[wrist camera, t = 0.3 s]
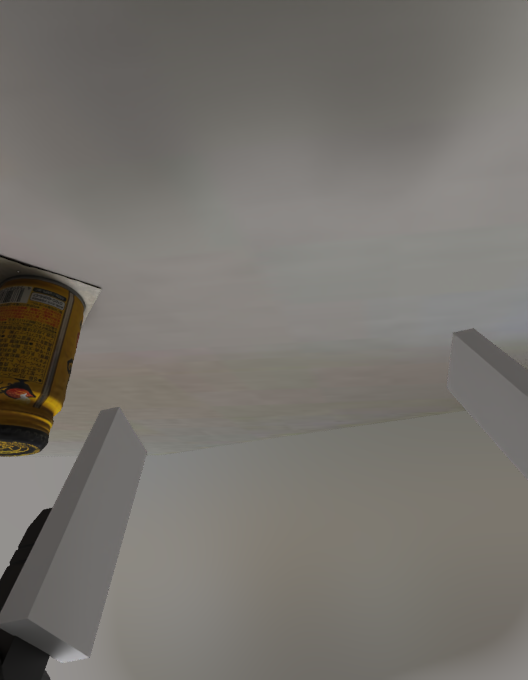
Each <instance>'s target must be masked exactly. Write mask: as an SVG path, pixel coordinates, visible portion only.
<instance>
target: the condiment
mask: <svg viewBox="0 0 528 680" xmlns="http://www.w3.org/2000/svg"><path fill="white" fill-rule="evenodd" d="M17 271H19V272H17ZM100 291H101V289H99V288H95V287H93V286H90V285H87V284H84V283H81V282H79V281H76V280H71V279H68V278H66V277H64V276H60V275H58V274H52V273H50V272H48V271H43V270H39V269H37V268H32V267H27V266H24V265H21V264H19V263H17V262H13V261H9V260H7V259H5V258H1V257H0V456H1V457H2V456H3V457H5V456H9V457H10V456H24V455H31V454H35V453H38V452H40V451H41V450H42V449H43V448H44V447H45V446H46V445H47V443H48V438H49V432H50V429H51V427H52V425H53V422H54V421H53V417H54V416H55V415H56V414H57V413H58V412H60V411H61V408H62V407H63V402H64V400H65V394H66V389H67V384H68V381H69V377H70V374H71V367H72V364H73V360H74V356H75V353H76V348H77V343H78V339H79V335H80V330H81V328H82V326H83V324H84V321H85V320H86V318H87V316H88V314H89V312H90V310H91V308H92V306H93V304H94V302H95V301H96V299H97V297H98V295H99V293H100Z"/></svg>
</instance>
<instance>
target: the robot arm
mask: <svg viewBox="0 0 528 680" xmlns="http://www.w3.org/2000/svg"><path fill="white" fill-rule="evenodd" d="M447 389H448V390H449V391H450V392H451V393H452V395H453V396H454V397H455V398H456V399H457V400H458V401H459V403H460V404H461V405H462V406H463V407H464V408H465V409H466V411H467V412H468V413H469V414H470V415H471V416H472V417H473V418H474V420H475V421H476V422H477V423H478V424H479V425H480V426H481V428H482V429H483V430H484V431H485V432H486V433H487V435H488V436H489V437H490V438H491V439H492V440H493V441H494V443H495V444H496V445H497V446H498V447H499V448H500V449H501V451H502V452H503V453H504V454H505V455H506V456H507V457H508V459H509V460H510V461H511V462H512V463H513V464H514V465H515V467H516V468H517V469H518V470H519V471H520V472H521V473H522V474H523V476H524V477H525V478H526V479H527V480H528V370H527V369H526V368H524V367H523V366H522V365H520V364H519V363H518V362H517V361H515V360H514V359H513V358H511V357H510V356H509V355H507V354H506V353H505V352H504V351H502V350H501V349H500V348H498V347H497V346H496V345H494V344H493V343H492V342H491V341H489V340H488V339H487V338H485V337H484V336H483V335H481V334H480V333H479V332H478V331H476V330H475V329H474V328H472V329H468V330H463V331H459V332H454V333H453V337H452V345H451V354H450V362H449V371H448V380H447ZM146 455H147V451H146V449H145V447H144V446H143V444H142V442H141V441H140V439H139V438H138V436H137V434H136V433H135V431H134V430H133V428H132V426H131V425H130V423H129V421H128V420H127V418H126V417H125V415H124V413H123V412H122V410H121V408H120V407H115V408H111V409H106V410H102V411H100V413H99V415H98V417H97V419H96V421H95V423H94V425H93V427H92V429H91V431H90V433H89V435H88V437H87V439H86V441H85V443H84V445H83V447H82V449H81V452H80V454H79V456H78V458H77V460H76V462H75V464H74V466H73V468H72V470H71V472H70V474H69V476H68V478H67V480H66V482H65V484H64V486H63V488H62V490H61V492H60V494H59V496H58V498H57V500H56V502H55V504H54V506H53V508H49V509H44V510H43V511H42V512H41V513H40V514H39V515H38V517H37V518H36V519H35V520H34V521H33V523H32V524H31V525H30V526H29V527H28V529H27V531H26V533H25V535H24V536H23V539H22V540H21V542H20V544H19V546H18V550H16V552H15V553H14V555H13V557H12V559H11V561H10V566H8V567H7V568H6V570H5V572H4V574H3V576H2V578H1V579H0V680H50V677H49V675H48V674H47V672H46V671H45V668H46V665H47V662H48V659H49V656H51V657H52V658H54V659H56V660H58V661H59V662H61V663H64V662H70V661H75V660H80V659H86V658H90V655H91V651H92V648H93V644H94V641H95V637H96V633H97V630H98V626H99V622H100V619H101V616H102V612H103V608H104V605H105V601H106V598H107V594H108V590H109V587H110V583H111V580H112V576H113V572H114V569H115V565H116V562H117V558H118V555H119V551H120V547H121V544H122V540H123V537H124V533H125V530H126V526H127V523H128V519H129V515H130V512H131V508H132V505H133V501H134V498H135V494H136V490H137V487H138V483H139V480H140V476H141V473H142V469H143V465H144V462H145V458H146Z"/></svg>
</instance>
